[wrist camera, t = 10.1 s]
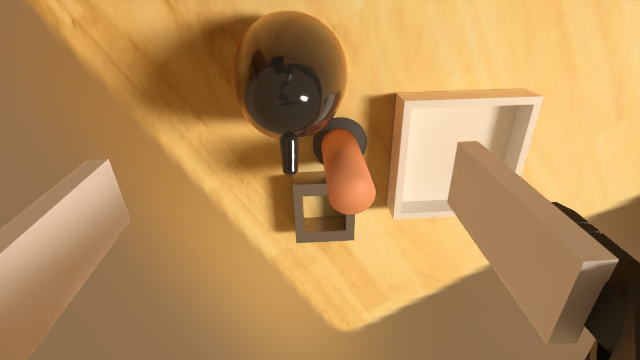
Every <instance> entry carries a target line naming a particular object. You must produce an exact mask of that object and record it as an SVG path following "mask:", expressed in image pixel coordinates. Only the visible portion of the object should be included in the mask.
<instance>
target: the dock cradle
mask: <svg viewBox="0 0 640 360" xmlns="http://www.w3.org/2000/svg"><path fill="white" fill-rule="evenodd" d="M543 99H544V96H542V95H540V94H537V93H535V92H532V91H530V90H527V89H495V90H465V91H435V92H405V93H396V104H395V116H394V127H393V139H392V151H391V163H390V174H389V186H388V198H387V206H388V208H389V211H390V213H391V215H392V218H393V219H413V218H434V217H455V216H456V215H455V213H454V212H453V210H452V209H451V208H450V206H449V205H448V203H447V200H448V194H449V189H450V183H451V177H452V172H453V166H454V160H455V155H456V149H457V143H458V142H464V141H478V142H479V143H481V144H482V145H483V146H484V147H485V148H487V149H488V150H489V151H490V152H491V153H493V154H494V155H495V156H496V157H497V158H499V159H500V160H501V161H502V162H503V163H505V164H506V165H507V166H508V167H509V168H510V169H512V170H513V171H514V172H515V173H516V174H518V175H519V176H520V177H521V174H522V171H523V168H524V164H525V161H526V157H527V154H528V150H529V147H530V143H531V140H532V137H533V133H534V130H535V126H536V123H537V119H538V116H539V112H540V109H541V105H542V102H543Z"/></svg>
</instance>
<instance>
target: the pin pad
mask: <svg viewBox="0 0 640 360" xmlns="http://www.w3.org/2000/svg"><path fill="white" fill-rule="evenodd" d="M335 128H344V129H347V130H349V131H351V132H352V133H353V134H354V136H355V137H356V140H357V142H358V145H359V148H360V150H361V153H362V155H363V154H364V153H365V150H366V146H367V139H366V135H365V132H364V130H363V129H362V127H361V126H360V125H359V124H358V123H357V122H355V121H353V120H351V119H348V118H334V119H331V120H330V122H329V123H328V124H327V125H326V126H325V127H324V128H322V129H321V130H320V131H318V132H317V133H316V134H315V137H314V142H313V145H314V151H315V154H316V156H317V158H318V159H319V160H320V161H321V162H322V163H323V164H324V162H323V155H322V147H321V143H322V139H323V137H324V136H325V135H326V133H328V132H329V131H330V130H332V129H335Z"/></svg>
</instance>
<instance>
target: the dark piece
mask: <svg viewBox="0 0 640 360" xmlns="http://www.w3.org/2000/svg"><path fill="white" fill-rule="evenodd" d="M231 83H232V89H233V93H234V96H235V99H236V102H237V104H238V106H239V108H240V110H241V112H242V114H243V115H244V117H245V118H246V119H247V121H248V122H249V123H250V124H251V125H252V126H253V127H254V128H255V129H257V130H258V131H259V132H261V133H263V134H264V135H266V136H269V137H271V138H274V139H278V140H279V141H280V149H281V158H282V167H283V173H284V174H286V175H295V174H296V173H297V172H298V153H299V140H300V139H304V138H307V137H309V136H311V135H313V134H315V133H317V132H318V131H320V130H321V129H322V128H324V127H325V126H326V125H327V124H328V123H329V122H330V120H331V119H332V118H333V117H334V115H335V114H336V112H337V110H338V109H339V107H340V104H341V102H342V100H343V97H344V93H345V89H346V83H347V64H346V59H345V55H344V52H343V49H342V47H341V44H340V42H339V41H338V39H337V37H336V36H335V35H334V33H333V32H332V31H331V30H330V29H329V28H328V27H327V26H326V25H325V24H324V23H323V22H321V21H320V20H318V19H317V18H315V17H313V16H311V15H309V14H306V13H303V12H298V11H278V12H273V13H270V14H267V15H265V16H263V17H261V18H259V19H258V20H256V21H255V22H254V23H253V24H251V25H250V26H249V27H248V28H247V29H246V30H245V32H244V33H243V34H242V36H241V37H240V39H239V41H238V43H237V45H236V47H235V50H234V54H233V58H232V64H231Z"/></svg>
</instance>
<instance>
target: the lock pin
mask: <svg viewBox="0 0 640 360" xmlns="http://www.w3.org/2000/svg"><path fill="white" fill-rule="evenodd" d="M321 147H322V155H323V162H324V169H325V177H326V184H327V191H328V199H329V202H330V204H331V206H332V207H333V208H334V209H335V210H336V211H338V212H340V213H343V214H348V215H352V214H358V213H361V212H363V211H365V210H366V209H368V208H369V207H370V206H371V204H372V203H373V201H374V199H375V195H376V190H375V186H374V184H373V181H372V178H371V176H370V173H369V171H368V168H367V166H366V163H365V160H364V158H363V155H362V153H361V150H360V148H359V145H358V142H357V140H356V137H355V136H354V134H353V133H352V132H351V131H349V130H347V129H344V128H335V129H332V130H330V131H329V132H328V133H326V135H325V136H324V137H323V139H322V143H321Z"/></svg>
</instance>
